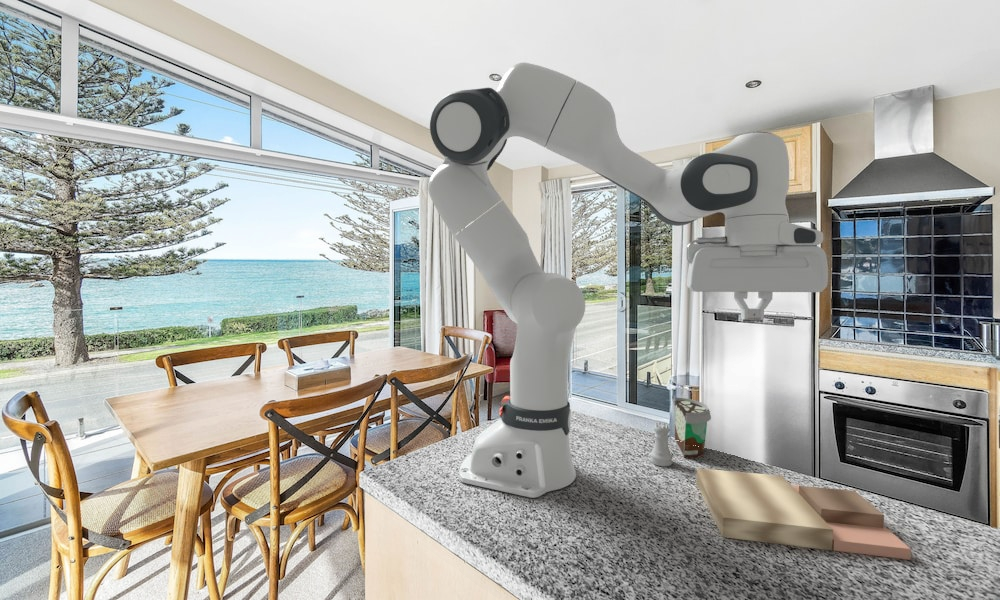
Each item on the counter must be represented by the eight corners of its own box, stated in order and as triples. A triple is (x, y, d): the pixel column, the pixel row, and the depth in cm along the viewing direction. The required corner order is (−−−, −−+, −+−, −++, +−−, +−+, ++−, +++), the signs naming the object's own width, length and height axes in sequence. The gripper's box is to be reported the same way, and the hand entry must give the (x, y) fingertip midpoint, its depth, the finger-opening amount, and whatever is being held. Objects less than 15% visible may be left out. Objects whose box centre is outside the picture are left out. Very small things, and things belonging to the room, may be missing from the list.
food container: (717, 463, 85) (719, 415, 85) (685, 461, 87) (686, 413, 86) (701, 440, 97) (702, 398, 97) (673, 438, 99) (674, 396, 98)
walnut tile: (820, 521, 63) (821, 508, 63) (798, 497, 69) (798, 485, 69) (883, 528, 61) (884, 515, 61) (854, 502, 68) (854, 490, 68)
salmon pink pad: (833, 550, 58) (834, 540, 58) (783, 492, 74) (783, 484, 74) (910, 559, 56) (910, 549, 56) (841, 498, 72) (842, 489, 72)
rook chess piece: (675, 468, 83) (676, 429, 83) (651, 466, 84) (652, 427, 84) (669, 458, 88) (670, 421, 87) (647, 457, 88) (648, 420, 88)
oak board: (722, 537, 61) (723, 517, 61) (696, 483, 77) (697, 468, 77) (832, 550, 58) (832, 529, 58) (781, 492, 74) (782, 475, 74)
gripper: (691, 235, 68) (689, 320, 69) (835, 232, 64) (831, 322, 64) (683, 239, 74) (681, 316, 75) (814, 236, 70) (811, 318, 71)
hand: (752, 319), depth 70 cm, fingers closed
